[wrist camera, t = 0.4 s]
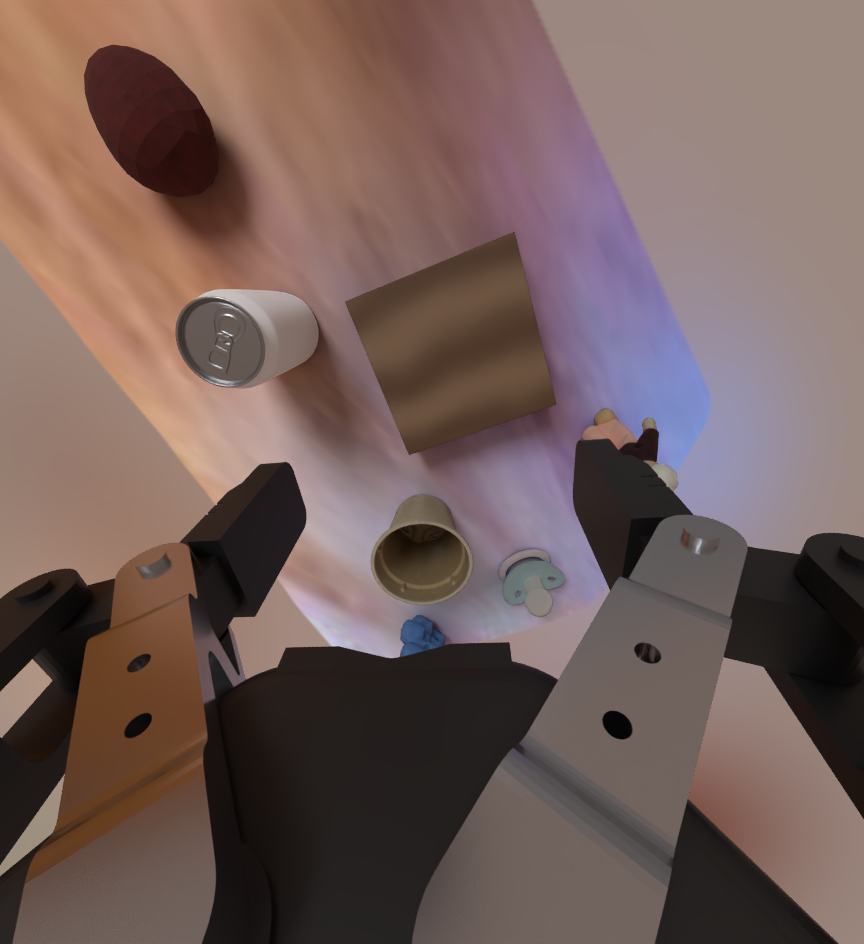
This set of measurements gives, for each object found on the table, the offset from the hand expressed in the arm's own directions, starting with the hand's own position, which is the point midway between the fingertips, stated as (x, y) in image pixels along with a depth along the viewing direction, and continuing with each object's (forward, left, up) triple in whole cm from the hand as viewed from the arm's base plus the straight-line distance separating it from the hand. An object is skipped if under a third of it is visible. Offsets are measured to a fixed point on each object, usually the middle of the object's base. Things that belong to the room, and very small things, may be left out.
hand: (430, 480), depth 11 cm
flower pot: (+16, -7, -28) cm, 34 cm away
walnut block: (0, +2, -28) cm, 28 cm away
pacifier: (+27, +2, -29) cm, 40 cm away
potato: (-22, -13, -29) cm, 38 cm away
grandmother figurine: (+13, +13, -28) cm, 34 cm away
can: (-7, -12, -28) cm, 32 cm away
